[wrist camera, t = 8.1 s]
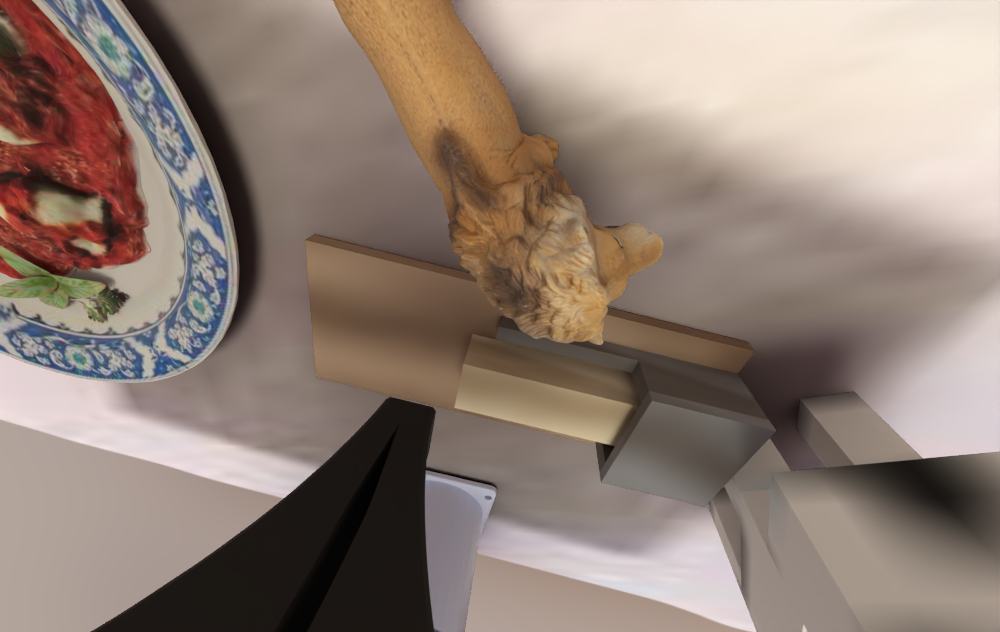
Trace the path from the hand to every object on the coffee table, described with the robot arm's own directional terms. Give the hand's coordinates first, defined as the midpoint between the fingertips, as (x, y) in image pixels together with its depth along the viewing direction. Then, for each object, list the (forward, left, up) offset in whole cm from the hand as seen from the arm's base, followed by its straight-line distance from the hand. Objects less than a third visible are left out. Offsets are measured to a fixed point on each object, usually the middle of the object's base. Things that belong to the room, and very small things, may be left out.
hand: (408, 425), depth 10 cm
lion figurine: (+8, 0, -10) cm, 13 cm away
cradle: (-4, -3, -9) cm, 11 cm away
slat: (-4, -7, -9) cm, 12 cm away
